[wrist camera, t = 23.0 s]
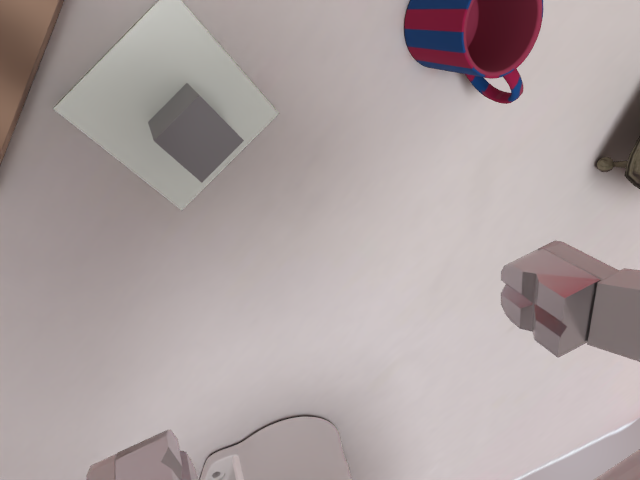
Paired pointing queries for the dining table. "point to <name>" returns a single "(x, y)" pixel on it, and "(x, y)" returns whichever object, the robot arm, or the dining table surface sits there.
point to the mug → (475, 39)
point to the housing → (21, 55)
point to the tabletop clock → (625, 165)
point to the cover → (169, 103)
